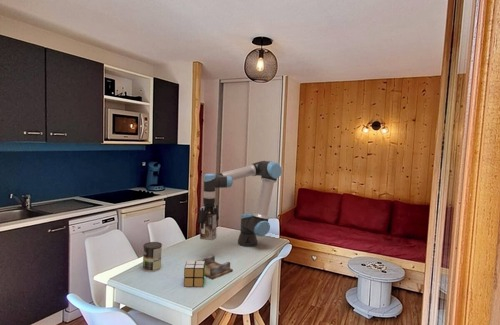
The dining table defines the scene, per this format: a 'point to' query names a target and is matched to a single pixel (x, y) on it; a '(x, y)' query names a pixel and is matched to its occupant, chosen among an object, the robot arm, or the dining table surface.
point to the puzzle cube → (194, 274)
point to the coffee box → (209, 227)
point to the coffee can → (152, 256)
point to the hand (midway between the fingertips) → (208, 232)
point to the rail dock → (207, 271)
